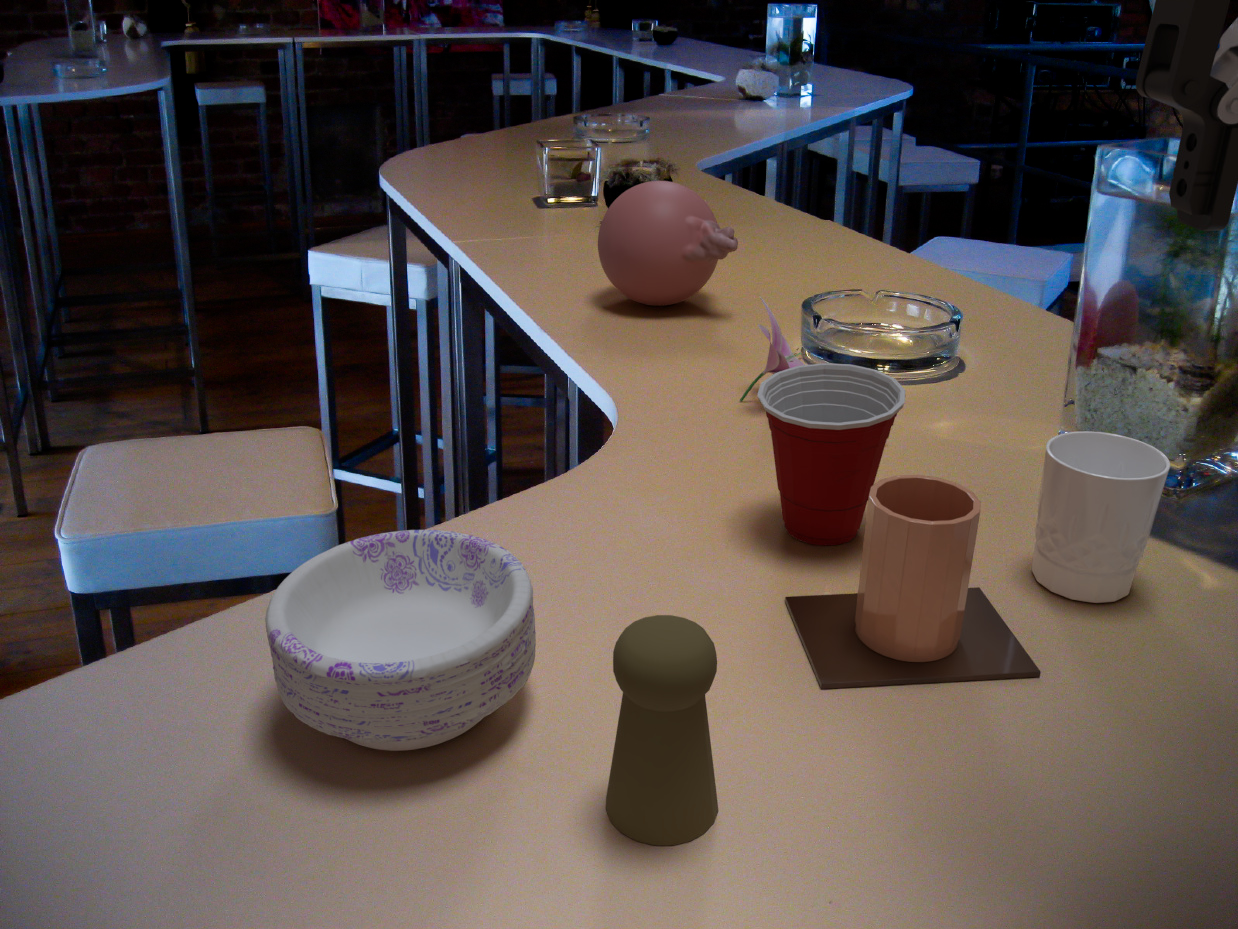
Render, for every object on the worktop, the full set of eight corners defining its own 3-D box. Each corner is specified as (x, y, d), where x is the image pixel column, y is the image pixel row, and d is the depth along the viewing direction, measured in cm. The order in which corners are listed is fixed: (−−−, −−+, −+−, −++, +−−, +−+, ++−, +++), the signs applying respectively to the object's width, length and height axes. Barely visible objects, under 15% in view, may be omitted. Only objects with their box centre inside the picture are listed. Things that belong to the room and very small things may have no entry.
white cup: (1035, 542, 83) (1058, 422, 79) (1147, 569, 80) (1176, 445, 75) (1012, 589, 77) (1035, 462, 73) (1131, 620, 74) (1162, 489, 69)
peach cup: (937, 602, 75) (957, 472, 71) (974, 659, 69) (998, 521, 65) (842, 607, 74) (856, 476, 70) (871, 665, 68) (888, 526, 64)
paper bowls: (251, 791, 59) (228, 671, 55) (315, 631, 73) (300, 527, 69) (531, 787, 59) (526, 667, 56) (543, 628, 73) (539, 524, 69)
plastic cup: (721, 526, 86) (727, 384, 81) (809, 485, 92) (820, 351, 87) (830, 580, 78) (844, 428, 73) (917, 532, 85) (936, 389, 80)
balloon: (685, 339, 127) (688, 206, 120) (573, 302, 140) (571, 181, 133) (770, 311, 136) (778, 187, 130) (658, 279, 149) (660, 165, 143)
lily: (776, 446, 102) (834, 361, 99) (683, 375, 106) (735, 291, 103) (817, 439, 112) (870, 362, 109) (731, 374, 116) (780, 298, 113)
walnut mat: (978, 591, 77) (979, 587, 77) (1040, 677, 68) (1041, 671, 68) (784, 601, 76) (785, 596, 76) (821, 689, 67) (821, 683, 67)
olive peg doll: (581, 803, 58) (578, 631, 53) (659, 750, 62) (663, 585, 57) (664, 864, 54) (668, 685, 49) (741, 804, 58) (752, 632, 53)
